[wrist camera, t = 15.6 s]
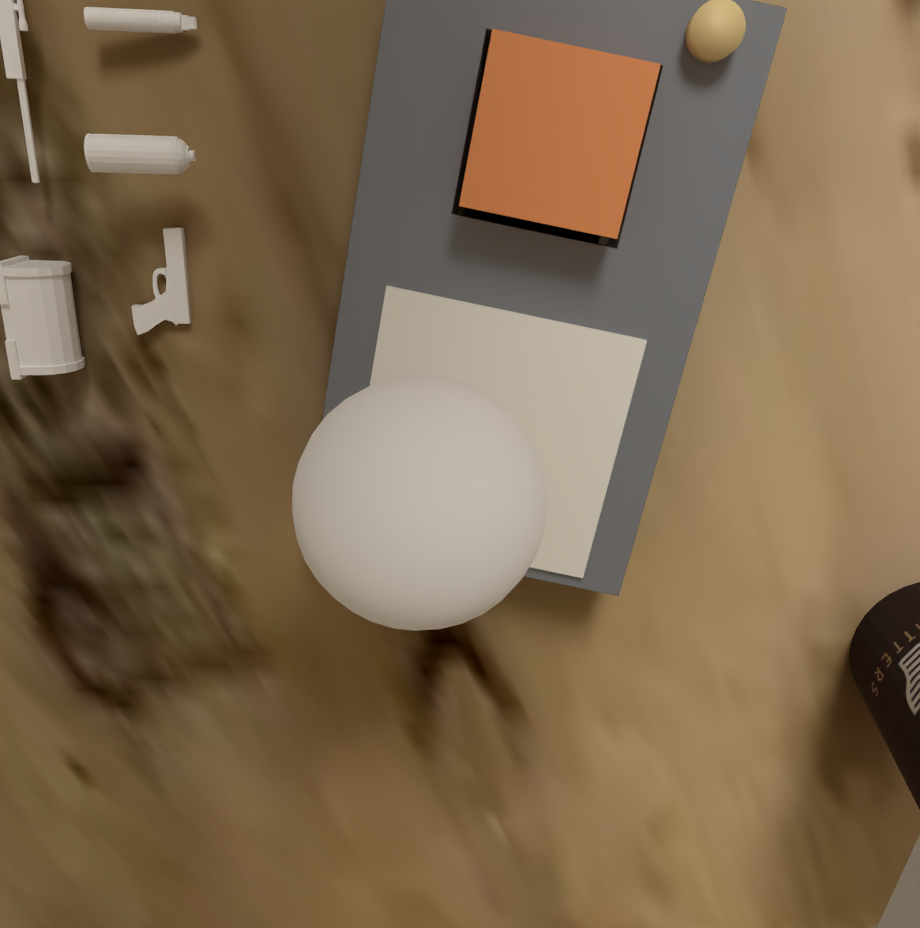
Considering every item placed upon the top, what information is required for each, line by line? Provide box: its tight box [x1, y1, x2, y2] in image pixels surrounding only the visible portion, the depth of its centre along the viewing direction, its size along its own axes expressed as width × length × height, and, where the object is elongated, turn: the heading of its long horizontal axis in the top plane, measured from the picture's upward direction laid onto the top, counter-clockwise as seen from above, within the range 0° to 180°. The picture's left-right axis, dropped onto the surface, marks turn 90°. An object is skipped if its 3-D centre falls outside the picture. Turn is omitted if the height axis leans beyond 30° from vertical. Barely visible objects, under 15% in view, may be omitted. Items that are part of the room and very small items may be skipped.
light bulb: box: [292, 375, 547, 631], centre depth 23 cm, size 7×7×11 cm
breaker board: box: [322, 0, 787, 596], centre depth 28 cm, size 20×12×4 cm, turn 169°
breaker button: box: [459, 29, 661, 239], centre depth 26 cm, size 5×5×4 cm
